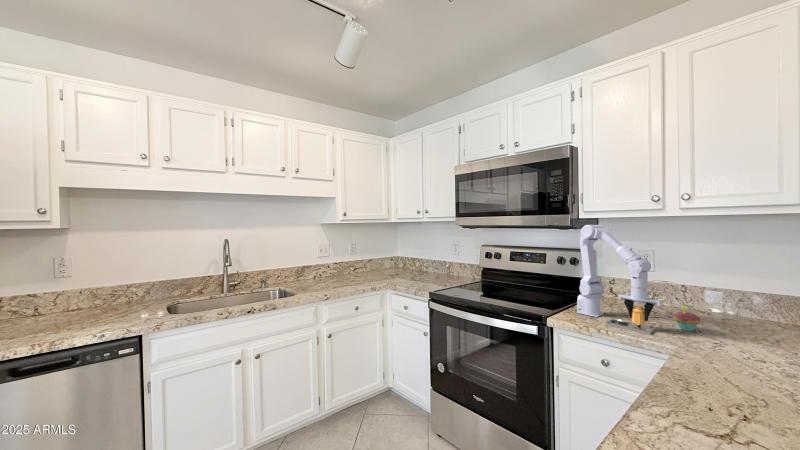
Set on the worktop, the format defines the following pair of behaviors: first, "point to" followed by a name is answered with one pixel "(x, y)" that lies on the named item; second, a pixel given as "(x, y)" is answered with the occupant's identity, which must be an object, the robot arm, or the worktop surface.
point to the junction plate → (631, 326)
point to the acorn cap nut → (638, 315)
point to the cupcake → (686, 320)
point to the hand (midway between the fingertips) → (638, 319)
